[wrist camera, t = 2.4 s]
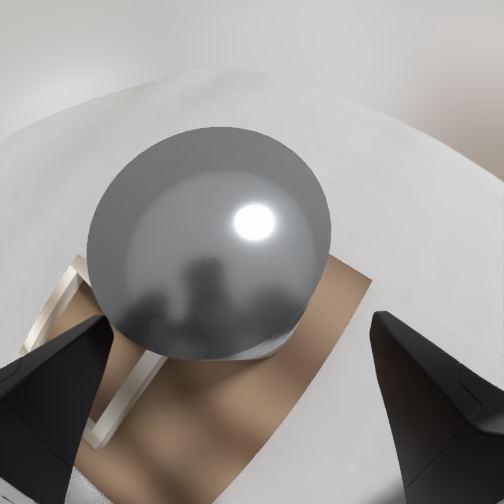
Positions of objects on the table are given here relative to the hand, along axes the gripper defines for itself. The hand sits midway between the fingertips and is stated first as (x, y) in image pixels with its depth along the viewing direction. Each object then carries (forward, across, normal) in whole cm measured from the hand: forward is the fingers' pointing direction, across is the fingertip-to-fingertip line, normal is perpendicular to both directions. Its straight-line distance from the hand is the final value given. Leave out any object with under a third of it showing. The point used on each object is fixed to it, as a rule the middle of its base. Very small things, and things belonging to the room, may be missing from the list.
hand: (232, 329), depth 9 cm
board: (+6, +7, +8) cm, 12 cm away
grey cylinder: (+7, 0, +5) cm, 9 cm away
